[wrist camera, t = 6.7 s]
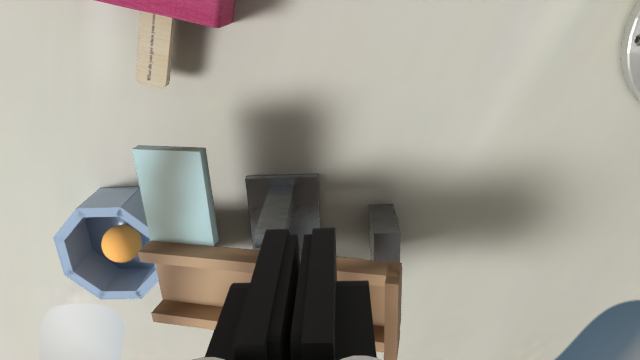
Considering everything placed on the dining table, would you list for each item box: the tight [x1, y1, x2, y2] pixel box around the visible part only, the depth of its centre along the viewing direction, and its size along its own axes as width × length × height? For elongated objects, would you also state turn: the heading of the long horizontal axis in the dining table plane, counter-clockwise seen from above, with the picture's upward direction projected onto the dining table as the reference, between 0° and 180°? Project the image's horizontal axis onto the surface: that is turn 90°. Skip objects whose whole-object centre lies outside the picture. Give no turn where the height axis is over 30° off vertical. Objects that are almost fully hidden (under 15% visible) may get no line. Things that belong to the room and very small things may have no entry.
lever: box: [132, 145, 402, 360], centre depth 31 cm, size 18×13×3 cm
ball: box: [101, 225, 142, 263], centre depth 40 cm, size 3×3×3 cm
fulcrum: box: [245, 174, 400, 263], centre depth 37 cm, size 19×10×9 cm, turn 92°
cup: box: [54, 187, 159, 299], centre depth 40 cm, size 9×9×4 cm
